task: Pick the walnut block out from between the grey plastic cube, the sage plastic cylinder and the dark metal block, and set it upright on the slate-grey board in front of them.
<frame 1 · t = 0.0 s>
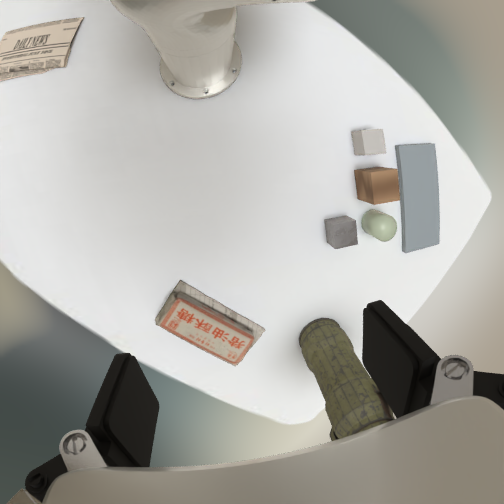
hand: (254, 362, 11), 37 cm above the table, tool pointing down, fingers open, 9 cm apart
sage plastic cylinder: (372, 221, 49), on the table
dark metal block: (336, 228, 49), on the table
newspaper: (34, 51, 33), on the table
packaged product: (209, 323, 52), on the table
slate board: (418, 197, 48), on the table
grey plastic cube: (363, 142, 44), on the table
thermos: (319, 336, 55), on the table
walnut block: (368, 182, 47), on the table
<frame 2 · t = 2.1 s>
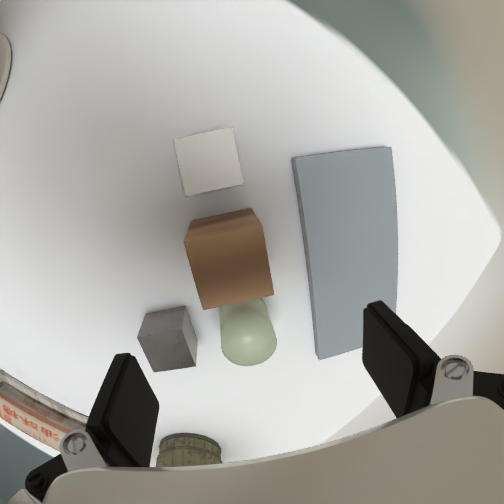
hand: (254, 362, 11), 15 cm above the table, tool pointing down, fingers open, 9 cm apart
sage plastic cylinder: (243, 313, 27), on the table
dark metal block: (171, 327, 27), on the table
packaged product: (52, 413, 30), on the table
slate board: (352, 259, 27), on the table
grey plastic cube: (209, 160, 22), on the table
thermos: (189, 448, 34), on the table
walnut block: (227, 242, 25), on the table
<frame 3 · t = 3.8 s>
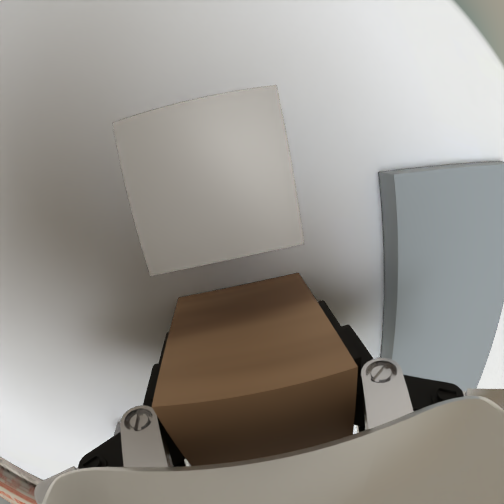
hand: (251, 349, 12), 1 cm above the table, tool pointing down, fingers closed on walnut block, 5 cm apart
packaged product: (29, 479, 18), on the table
slate board: (442, 337, 14), on the table
grey plastic cube: (213, 173, 10), on the table
walnut block: (249, 335, 13), on the table, touching gripper
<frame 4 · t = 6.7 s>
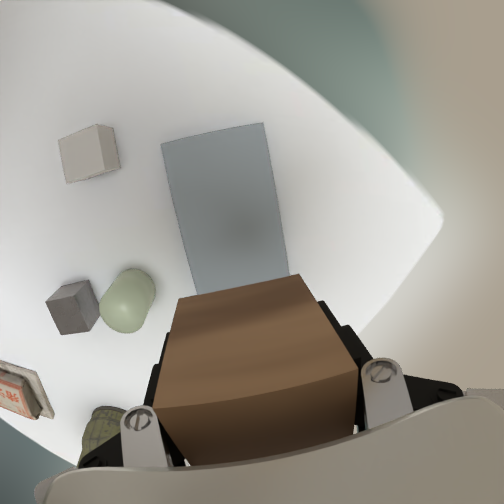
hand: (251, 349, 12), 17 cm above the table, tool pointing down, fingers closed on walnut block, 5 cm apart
sage plastic cylinder: (135, 288, 28), on the table
dark metal block: (81, 299, 28), on the table
packaged product: (8, 379, 32), on the table
slate board: (233, 238, 28), on the table
grey plastic cube: (98, 154, 24), on the table
thermos: (119, 424, 35), on the table
walnut block: (250, 336, 13), point 16 cm above the table, touching gripper
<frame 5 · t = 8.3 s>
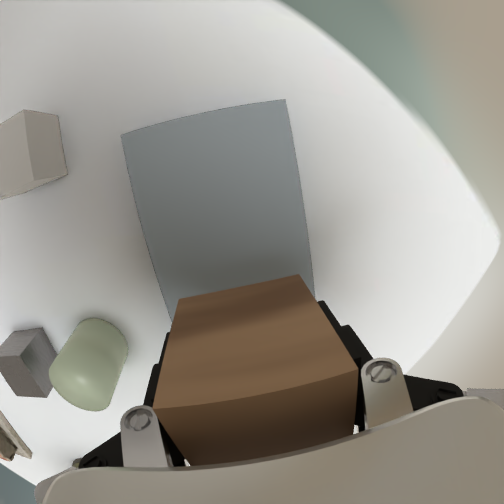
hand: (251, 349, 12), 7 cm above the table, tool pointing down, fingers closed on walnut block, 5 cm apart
sage plastic cylinder: (101, 343, 19), on the table
dark metal block: (38, 349, 19), on the table
slate board: (236, 279, 18), on the table
grey plastic cube: (39, 154, 14), on the table
walnut block: (250, 336, 13), point 6 cm above the table, touching gripper
when the fingers open (3 cm above the table, at t = 9.5 s): walnut block drops 1 cm, resting on slate board.
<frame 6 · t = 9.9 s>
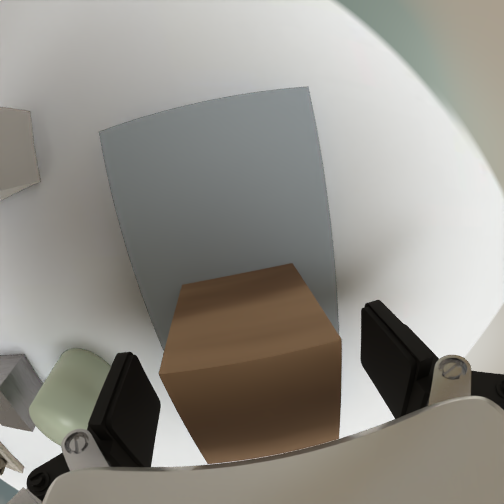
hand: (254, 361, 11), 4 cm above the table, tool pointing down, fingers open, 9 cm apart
sage plastic cylinder: (88, 375, 15), on the table
dark metal block: (22, 375, 15), on the table
slate board: (245, 309, 15), on the table
grey plastic cube: (10, 158, 11), on the table
walnut block: (247, 321, 14), point 1 cm above the table, touching slate board
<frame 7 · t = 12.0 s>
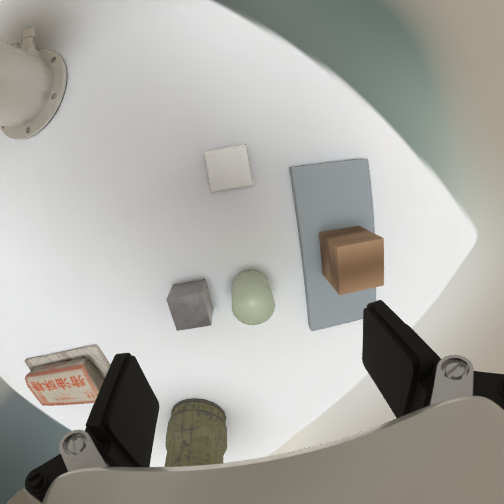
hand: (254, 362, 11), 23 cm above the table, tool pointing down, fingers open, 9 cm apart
sage plastic cylinder: (250, 287, 35), on the table
dark metal block: (193, 297, 35), on the table
packaged product: (74, 374, 38), on the table
slate board: (337, 247, 34), on the table
grey plastic cube: (228, 167, 31), on the table
thermos: (198, 415, 41), on the table
walnut block: (341, 249, 33), point 1 cm above the table, touching slate board
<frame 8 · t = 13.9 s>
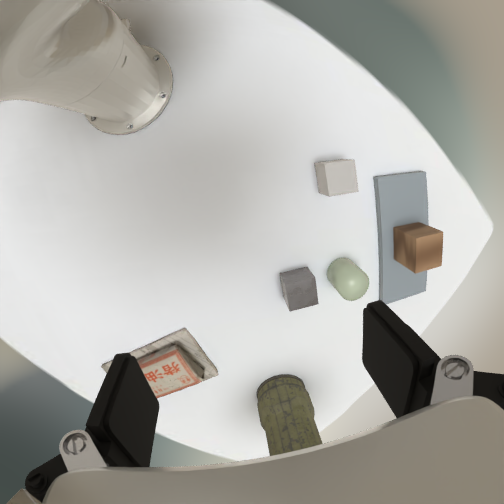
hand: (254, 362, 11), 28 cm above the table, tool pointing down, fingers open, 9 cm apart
sage plastic cylinder: (340, 271, 42), on the table
dark metal block: (295, 282, 41), on the table
packaged product: (158, 366, 45), on the table
slate board: (402, 238, 41), on the table
grey plastic cube: (330, 175, 37), on the table
thermos: (280, 391, 48), on the table
walnut block: (406, 240, 40), point 1 cm above the table, touching slate board
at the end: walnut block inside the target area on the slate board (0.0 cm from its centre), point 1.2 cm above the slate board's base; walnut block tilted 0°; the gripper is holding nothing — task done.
